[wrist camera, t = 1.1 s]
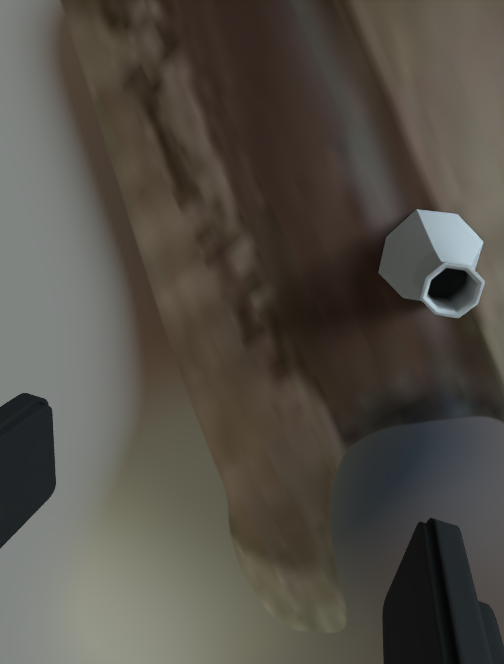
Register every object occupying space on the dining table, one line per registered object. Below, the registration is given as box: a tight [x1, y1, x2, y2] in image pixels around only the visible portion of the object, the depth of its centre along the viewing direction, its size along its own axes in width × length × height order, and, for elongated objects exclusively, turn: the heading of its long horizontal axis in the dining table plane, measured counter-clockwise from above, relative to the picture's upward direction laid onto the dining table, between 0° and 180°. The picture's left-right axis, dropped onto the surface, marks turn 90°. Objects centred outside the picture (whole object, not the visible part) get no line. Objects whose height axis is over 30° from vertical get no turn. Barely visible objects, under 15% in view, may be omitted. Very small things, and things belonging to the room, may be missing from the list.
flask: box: [378, 209, 485, 318], centre depth 28 cm, size 7×7×10 cm
